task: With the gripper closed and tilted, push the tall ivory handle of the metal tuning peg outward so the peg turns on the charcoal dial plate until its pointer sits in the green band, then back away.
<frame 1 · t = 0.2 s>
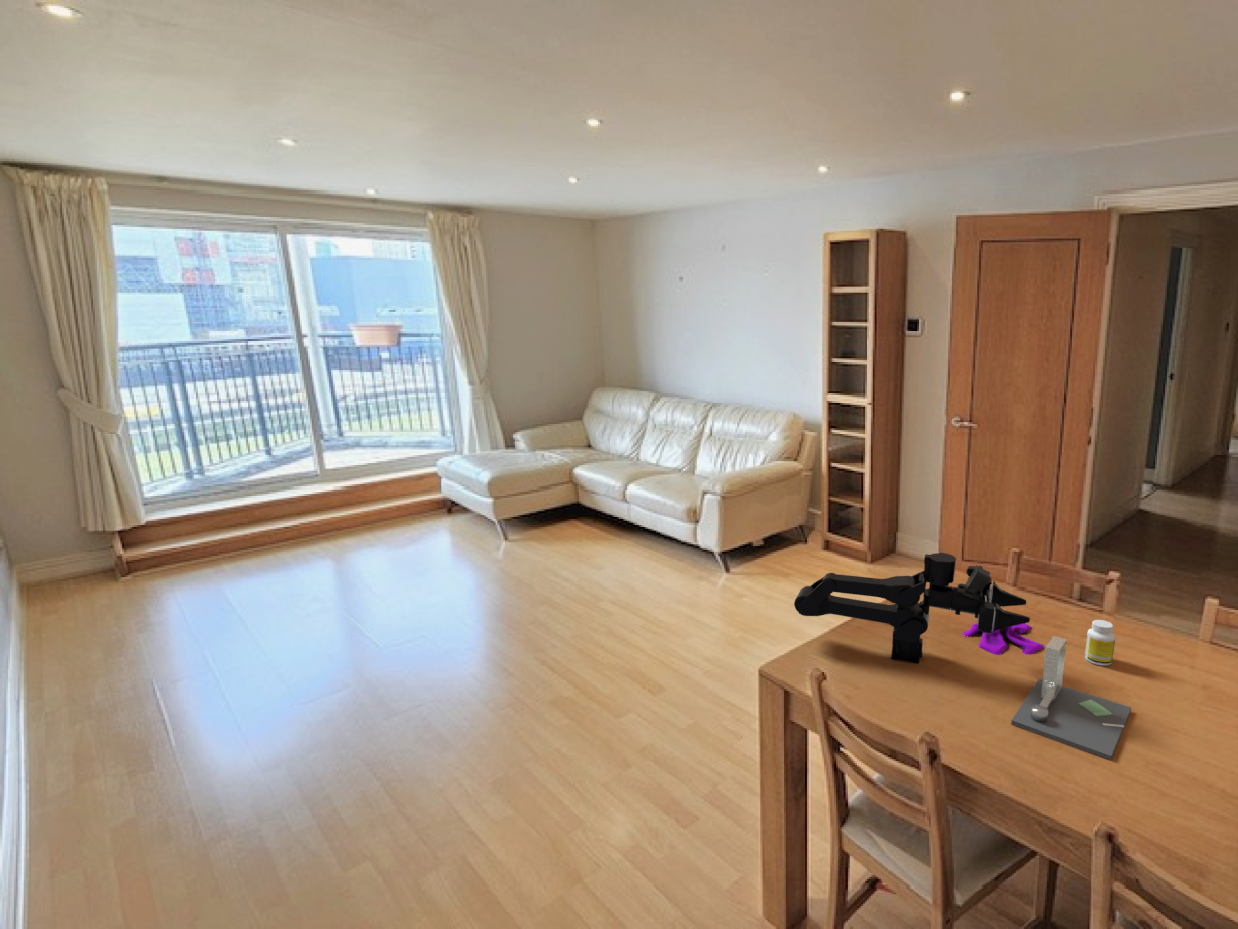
hand: (1027, 610, 149), 17 cm above the table, tool horizontal, fingers open, 9 cm apart
supplement bottle: (1098, 661, 157), on the table
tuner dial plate: (1038, 723, 136), on the table
tuning peg: (1050, 675, 139), point 8 cm above the table, hinge at 0.0°
cloth: (996, 639, 170), on the table
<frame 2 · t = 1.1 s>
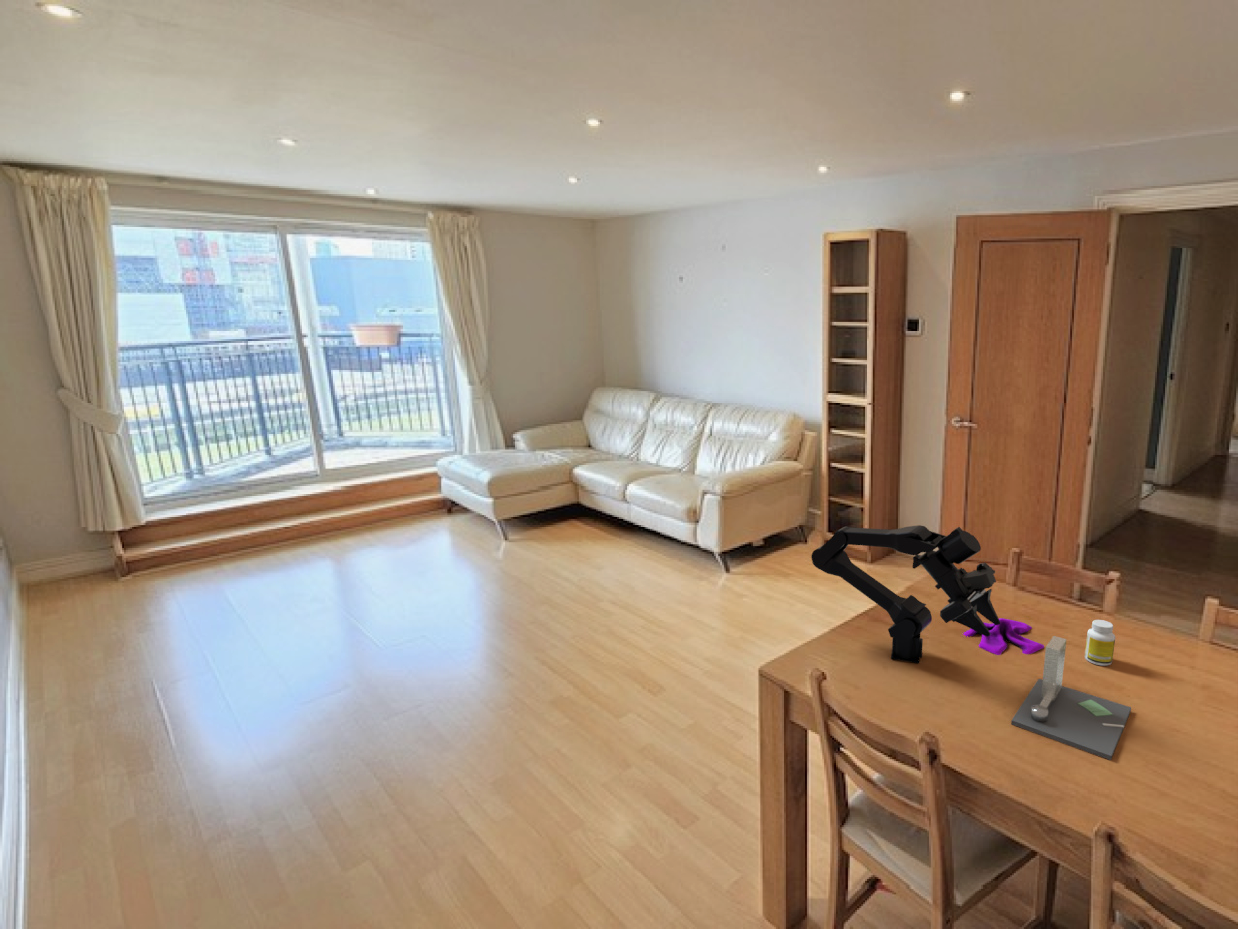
hand: (993, 629, 148), 14 cm above the table, tool tilted 45°, fingers open, 6 cm apart
nothing on the table moved.
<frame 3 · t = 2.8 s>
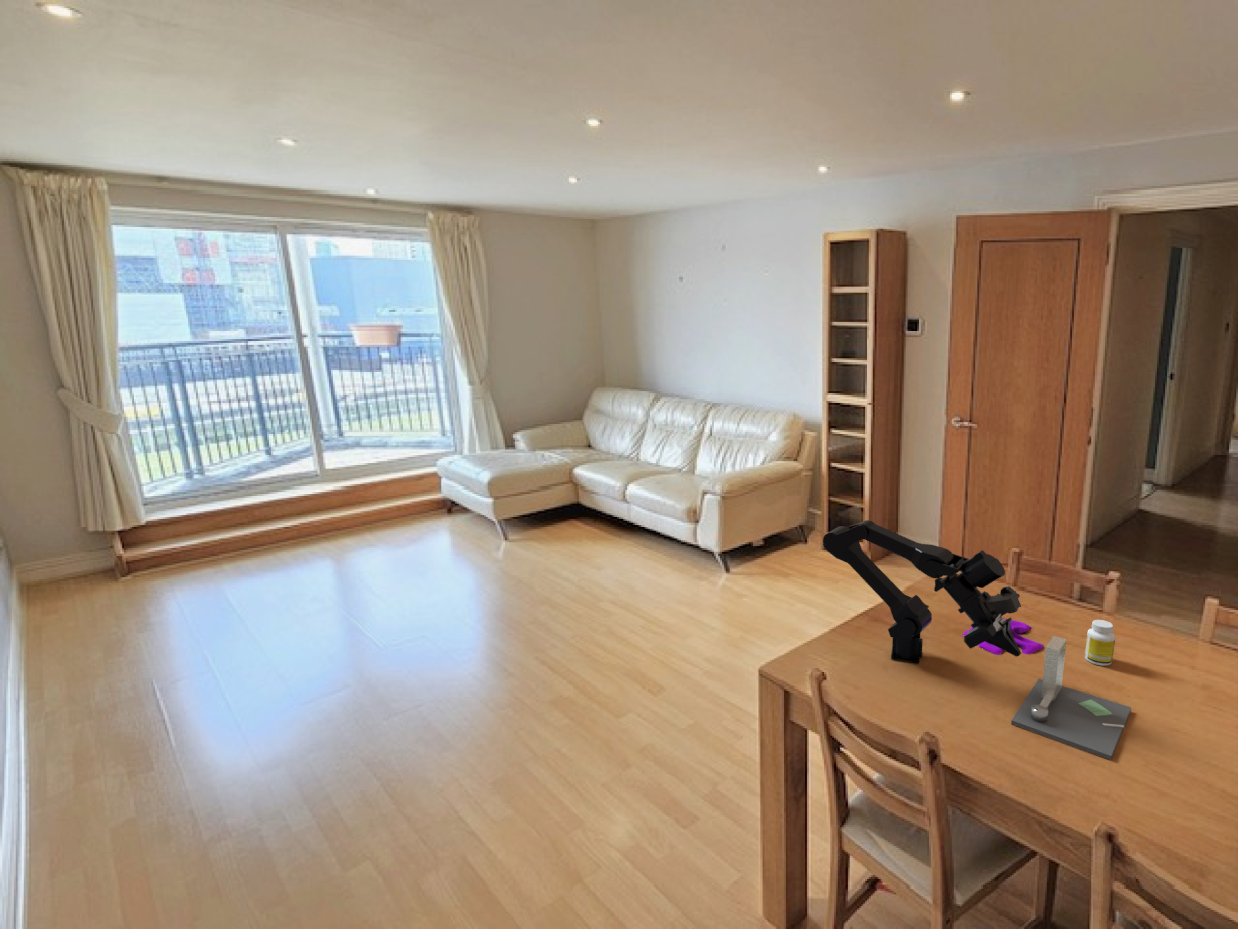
hand: (1018, 655, 145), 9 cm above the table, tool tilted 45°, fingers closed
nothing on the table moved.
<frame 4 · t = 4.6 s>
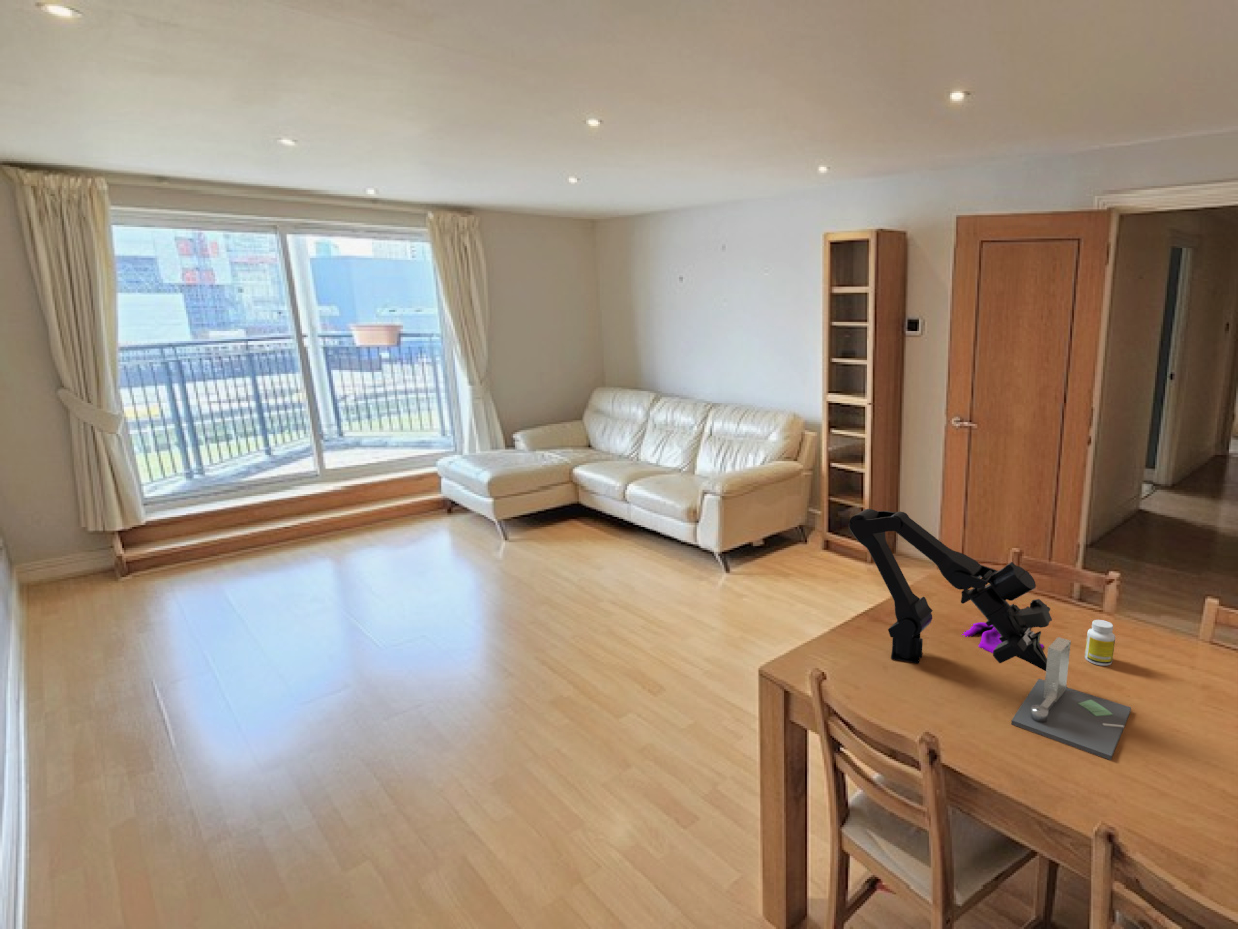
hand: (1049, 670, 141), 8 cm above the table, tool tilted 45°, fingers closed, pressing on tuning peg
tuning peg: (1053, 676, 139), point 8 cm above the table, hinge at 4.0°, touching gripper
everything else where it was.
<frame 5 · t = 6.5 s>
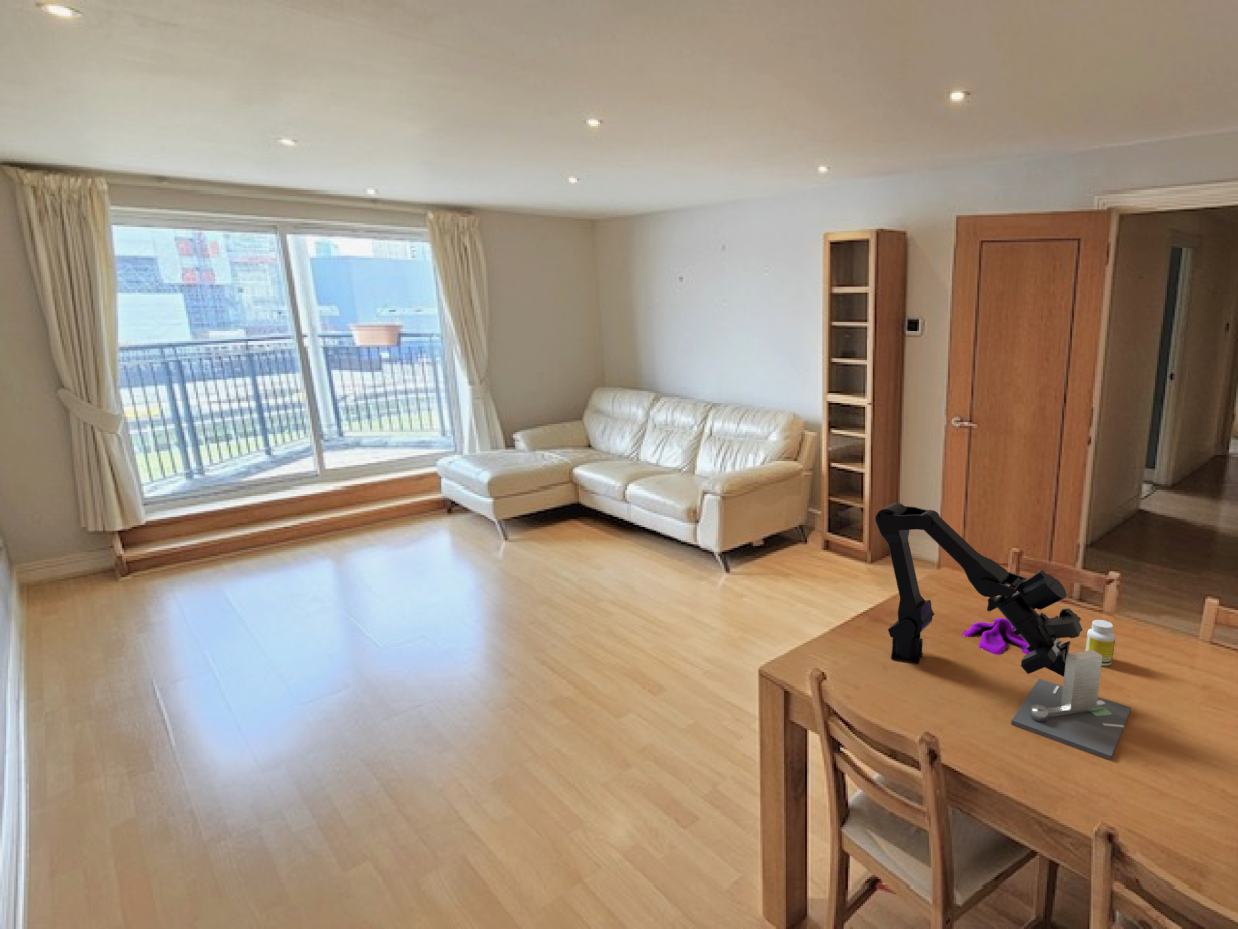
hand: (1078, 681, 137), 7 cm above the table, tool tilted 45°, fingers closed
tuning peg: (1070, 685, 135), point 8 cm above the table, hinge at 36.5°, touching gripper
everything else where it was.
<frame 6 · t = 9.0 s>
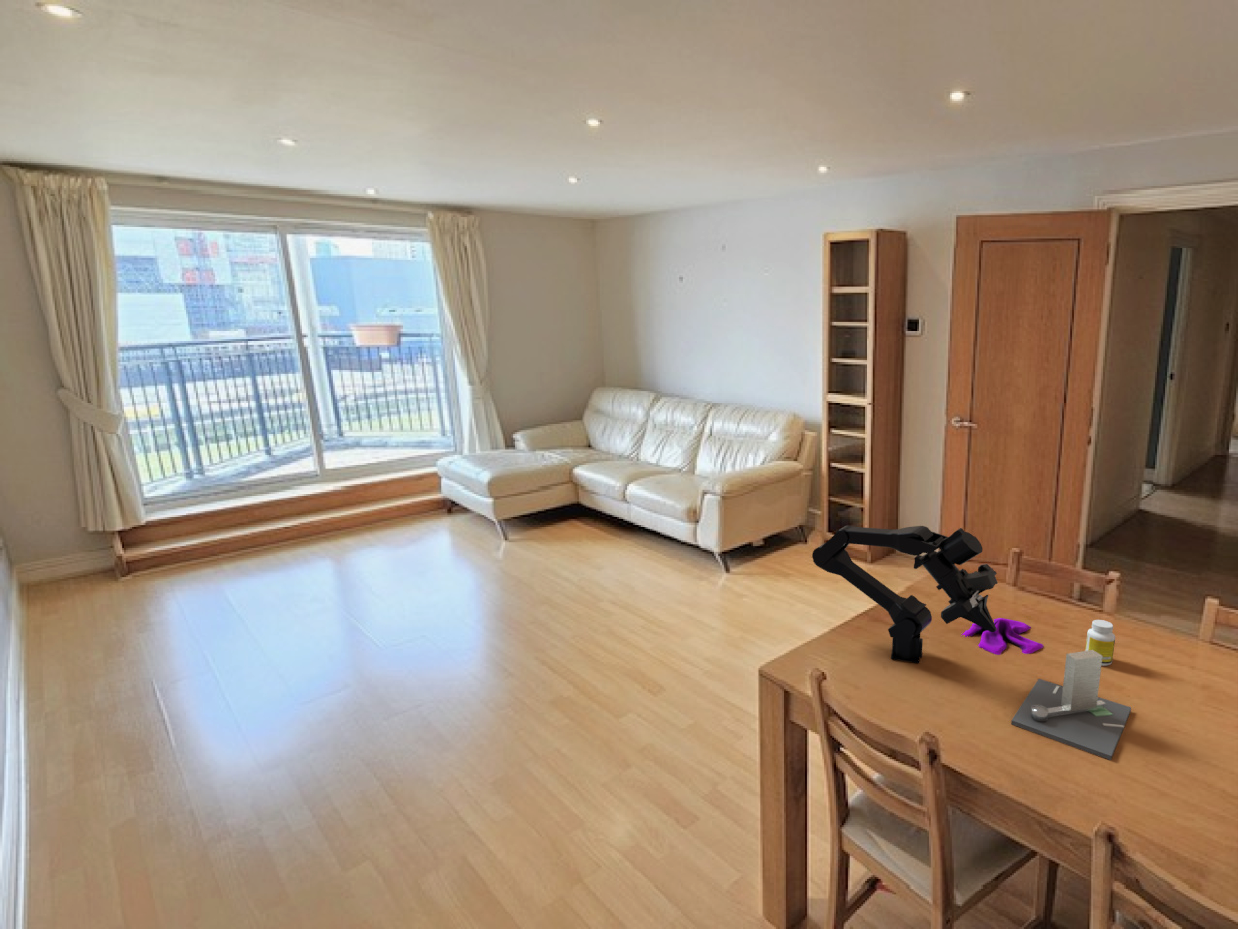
hand: (994, 631, 148), 13 cm above the table, tool tilted 45°, fingers closed
tuning peg: (1070, 685, 135), point 8 cm above the table, hinge at 36.5°
everything else where it was.
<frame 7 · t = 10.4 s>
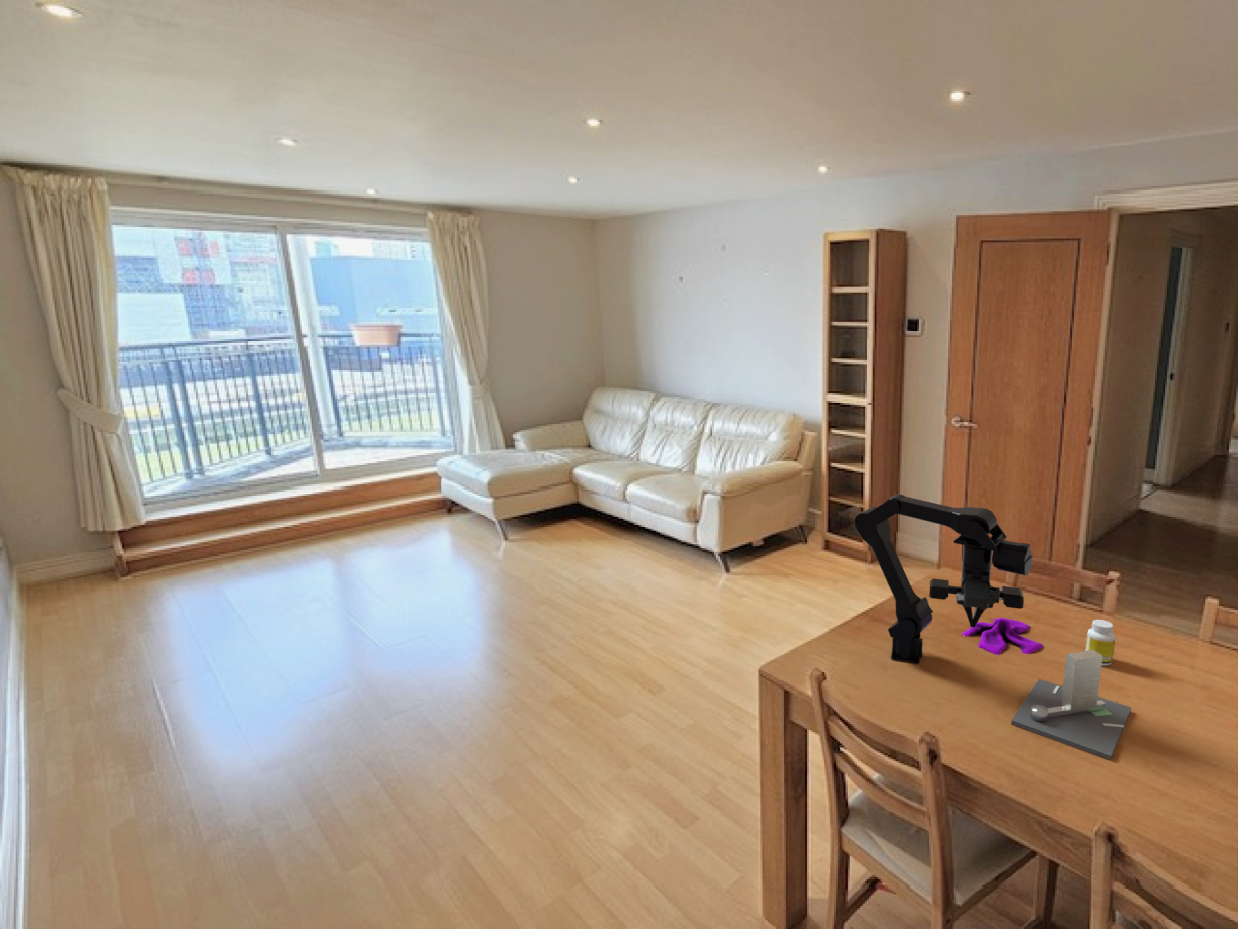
hand: (972, 626, 151), 13 cm above the table, tool pointing down, fingers closed
nothing on the table moved.
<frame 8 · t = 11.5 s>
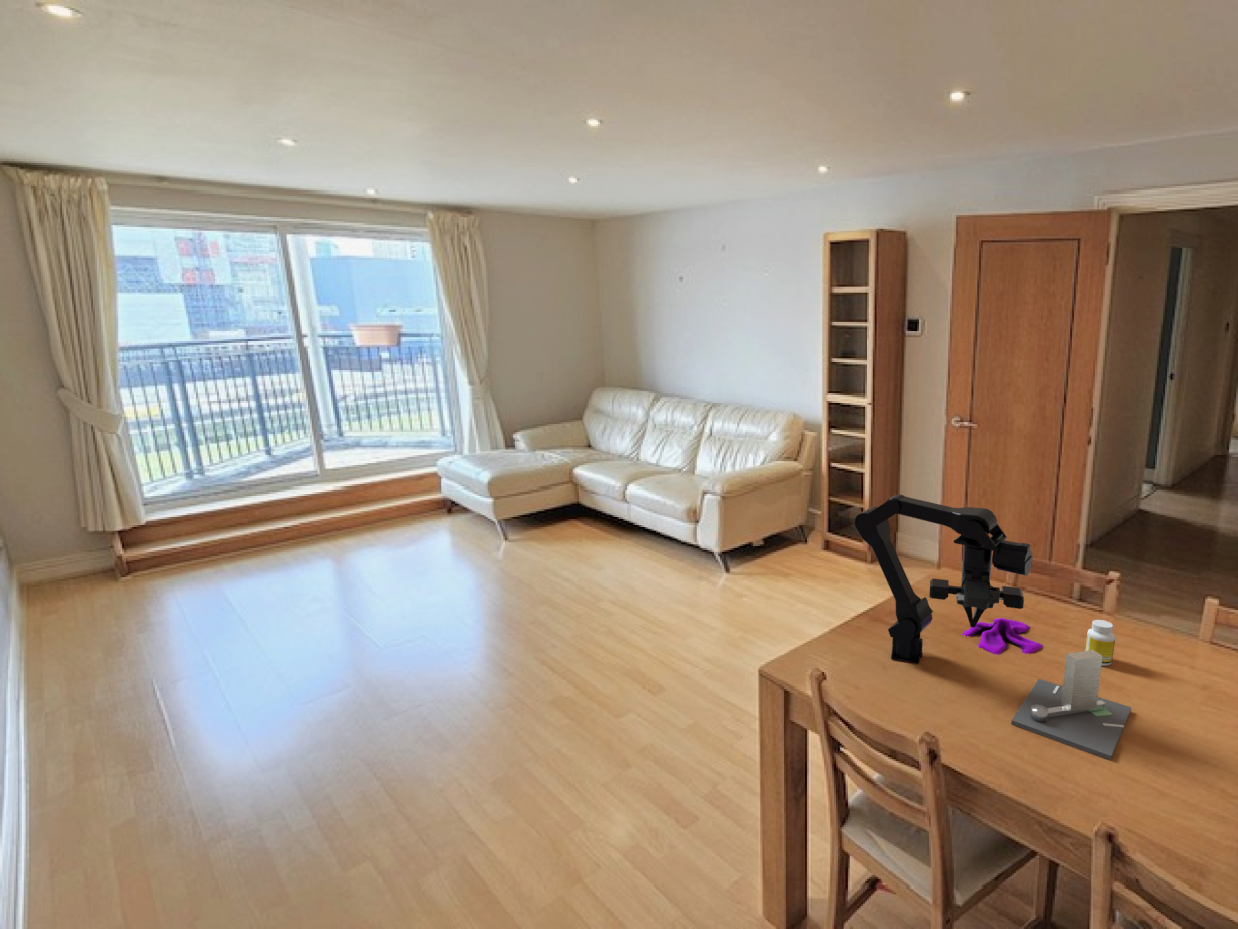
hand: (972, 626, 151), 13 cm above the table, tool pointing down, fingers closed
nothing on the table moved.
at the end: tuning peg at +36° (first picture: +0°); supplement bottle moved 0.2 cm from its start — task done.
